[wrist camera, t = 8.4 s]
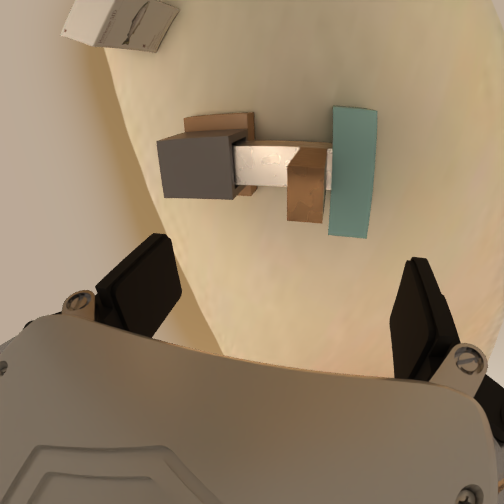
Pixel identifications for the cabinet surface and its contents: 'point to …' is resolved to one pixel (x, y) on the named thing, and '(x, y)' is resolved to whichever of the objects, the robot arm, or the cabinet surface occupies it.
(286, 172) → the multicoloured piece
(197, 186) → the grey block with backplate
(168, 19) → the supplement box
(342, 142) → the socket
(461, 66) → the cabinet surface
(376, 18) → the cabinet surface
